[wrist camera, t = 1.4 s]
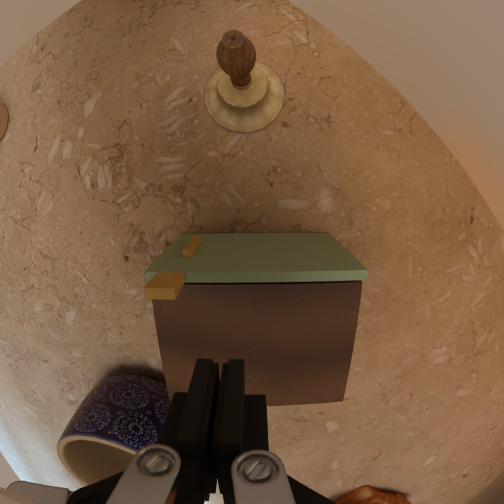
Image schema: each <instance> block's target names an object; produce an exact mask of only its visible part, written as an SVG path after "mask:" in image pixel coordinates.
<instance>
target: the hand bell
mask: <svg viewBox="0 0 504 504" xmlns="http://www.w3.org/2000/svg"><path fill="white" fill-rule="evenodd" d="M216 56H217V61H218V63H219V65H220V67H221V68H219V69H218V70H217V71H216V72H215V73H214V74H213V75H212V76H211V78H210V79H209V81H208V84H207V86H206V90H205V105H206V108H207V110H208V113H209V114H210V116H211V117H212V119H213V120H214V121H215V122H216V123H217V124H218V125H220V126H221V127H223V128H225V129H227V130H229V131H232V132H237V133H251V132H255V131H259V130H261V129H263V128H265V127H267V126H268V125H270V124H271V123H272V122H273V121H274V120H275V119H276V118H277V116H278V115H279V113H280V112H281V109H282V106H283V102H284V90H283V86H282V83H281V81H280V79H279V77H278V76H277V75H276V74H275V72H274V71H273V70H272V69H270V68H269V67H267V66H266V65H264V64H262V63H259V62H256V51H255V48H254V45H253V44H252V42H251V41H250V40H249V39H248V38H247V37H245V36H244V35H243V34H242V33H241V32H240V31H237V30H230V31H228V32H226V33H224V35H223V37H222V40H221V41H220V43H219V45H218V47H217V51H216Z"/></svg>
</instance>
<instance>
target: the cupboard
mask: <svg viewBox="0 0 504 504" xmlns="http://www.w3.org/2000/svg"><path fill="white" fill-rule="evenodd" d="M361 289H362V281H361V280H351V281H312V282H236V283H197V282H185V283H184V285H183V287H182V289H181V290H180V292H179V294H178V296H177V298H176V300H160V299H152V302H153V310H154V317H155V323H156V330H157V336H158V342H159V348H160V354H161V359H162V365H163V370H164V375H165V380H166V385H167V390H168V395H169V400H170V403H171V400H172V397H173V395H174V393H175V392H187V393H188V389H189V385H190V382H191V378H192V374H193V371H194V367H195V363H196V360H197V358H207V359H213V363H219V373H220V379H221V372H222V365H223V363H228V362H229V359H244V365H245V394H266V405H267V406H282V405H302V404H316V403H328V402H338V401H343V399H344V394H345V389H346V384H347V379H348V374H349V369H350V363H351V357H352V352H353V346H354V340H355V333H356V327H357V320H358V313H359V305H360V297H361Z"/></svg>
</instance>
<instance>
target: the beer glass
mask: <svg viewBox="0 0 504 504" xmlns="http://www.w3.org/2000/svg"><path fill="white" fill-rule="evenodd" d="M7 125H8V111H7V108H6V106H5V105H4V104H2V103H0V140H1V138H2V137H3V135H4V133H5V131H6V128H7Z"/></svg>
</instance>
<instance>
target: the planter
mask: <svg viewBox="0 0 504 504" xmlns="http://www.w3.org/2000/svg"><path fill="white" fill-rule="evenodd" d="M170 404H171V403H170V400H169V395H168V390H167V386H166V385H165V384H163V383H161V382H159V381H157V380H155V379H152V378H150V377H146V376H142V375H137V374H121V375H115V376H112V377H109V378H106V379H104V380H103V381H101V382H100V383H99V384H97V385H96V386H95V387H94V388H93V389H92V390H91V391H90V393H89V394H88V395H87V396H86V397H85V399H84V400H83V401H82V403H81V404H80V406H79V407H78V409H77V410H76V412H75V413H74V415H73V416H72V418H71V420H70V421H69V423H68V425H67V426H66V428H65V430H64V431H63V433H62V435H61V437H60V439H59V441H58V444H57V453H58V456H59V459H60V461H61V462H62V464H63V466H64V467H65V468H66V470H67V471H68V472H69V473H70V474H71V475H72V476H73V477H74V478H75V479H76V480H77V481H79V482H80V483H81V484H82V485H84V486H88V485H90V484H93V483H95V482H98V481H100V480H103V479H105V478H108V477H110V476H112V475H115V474H117V473H119V472H122V471H124V470H126V468H127V466H128V465H129V463H130V461H131V459H132V458H133V456H134V454H135V453H136V452H137V451H138V450H139V449H141V448H142V447H144V446H147V445H151V444H158V442H159V438H160V435H161V432H162V429H163V426H164V422H165V419H166V416H167V413H168V410H169V407H170Z"/></svg>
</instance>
